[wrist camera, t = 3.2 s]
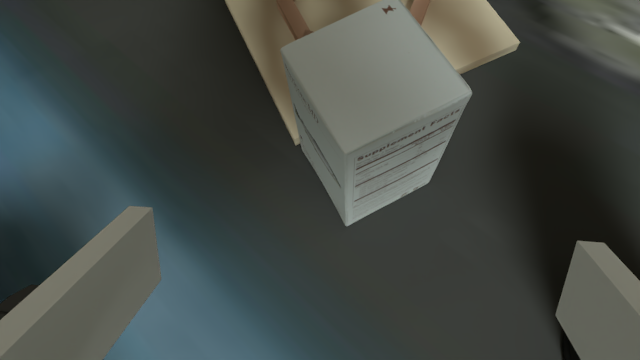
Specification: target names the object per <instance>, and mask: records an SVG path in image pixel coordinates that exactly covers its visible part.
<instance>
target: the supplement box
mask: <svg viewBox="0 0 640 360" xmlns="http://www.w3.org/2000/svg"><path fill="white" fill-rule="evenodd" d="M280 51H281V55H282V59H283V64H284V68H285V73H286V77H287V82H288V86H289V91H290V96H291V101H292V106H293V111H294V115H295V120H296V124H297V129H298V134H299V139H300V143H301V148H302V151H303V152H304V154H305V156H306V157H307V159H308V160H309V162H310V163H311V165H312V166H313V168H314V170H315V171H316V173H317V175H318V177H319V178H320V180H321V182H322V183H323V185H324V187H325V189H326V191H327V192H328V194H329V196H330V198H331V199H332V201H333V203H334V205H335V207H336V209H337V210H338V212H339V214H340V216H341V218H342V220H343V222H344V224H345V226H349V225H350V224H352V223H354V222H356V221H358V220H360V219H361V218H363V217H365V216H367V215H369V214H371V213H373V212H374V211H376V210H378V209H380V208H382V207H384V206H386V205H388V204H390V203H392V202H393V201H395V200H397V199H399V198H401V197H403V196H405V195H407V194H409V193H410V192H412V191H414V190H416V189H418V188H420V187H422V186H424V185H425V184H427V183H429V181H430V179H431V177H432V175H433V173H434V171H435V169H436V167H437V165H438V163H439V161H440V159H441V157H442V154H443V152H444V150H445V148H446V146H447V144H448V142H449V140H450V138H451V135H452V133H453V131H454V129H455V127H456V125H457V123H458V121H459V119H460V116H461V114H462V112H463V110H464V108H465V106H466V104H467V102H468V101H469V99H470V97H471V95H472V91H471V88H470V87H469V86H468V84H467V83H466V82H465V81H464V79H463V78H462V77H461V76H460V74H459V73H458V72H457V71H456V70H455V68H454V67H453V66H452V65H451V63H450V62H449V61H448V59H447V58H446V57H445V56H444V54H443V53H442V52H441V51H440V49H439V48H438V47H437V46H436V44H435V43H434V42H433V40H432V39H431V38H430V36H429V35H428V34H427V33H426V32H425V31H424V29H423V28H422V27H421V26H420V24H419V23H418V22H417V21H416V19H415V18H414V17H413V16H412V14H411V13H410V12H409V10H408V9H407V8H406V7H405V5H404V4H403V3H402V2H401V0H382V1H379V2H377V3H375V4H373V5H371V6H368V7H366V8H364V9H362V10H360V11H358V12H356V13H354V14H351V15H349V16H347V17H345V18H343V19H341V20H339V21H336V22H334V23H332V24H330V25H328V26H325V27H323V28H321V29H319V30H317V31H315V32H313V33H311V34H309V35H306V36H304V37H302V38H300V39H297V40H295V41H293V42H291V43H289V44H287V45H286V46H284V47H282V48H281V50H280Z"/></svg>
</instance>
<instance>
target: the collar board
mask: <svg viewBox="0 0 640 360" xmlns="http://www.w3.org/2000/svg"><path fill="white" fill-rule="evenodd" d="M379 1H382V0H225V2H226V5H227V7H228V9H229V11H230V13H231V15H232V17H233V19H234V21H235V23H236V25H237V27H238V29H239V31H240V33H241V35H242V37H243V39H244V41H245V43H246V45H247V47H248V49H249V52H250V54H251V56H252V58H253V60H254V62H255V64H256V66H257V68H258V70H259V72H260V74H261V76H262V78H263V80H264V82H265V84H266V86H267V88H268V90H269V92H270V94H271V97H272V99H273V101H274V103H275V105H276V107H277V109H278V111H279V113H280V115H281V117H282V119H283V121H284V123H285V125H286V127H287V129H288V131H289V133H290V135H291V137H292V139H293V141H294V144H295V146H296V145H298V144H300V139H299V134H298V129H297V124H296V120H295V115H294V111H293V106H292V101H291V96H290V91H289V86H288V82H287V77H286V73H285V68H284V64H283V59H282V55H281V51H280V50H281V48H282V47H284V46H286V45H287V44H289V43H291V42H293V41H295V40H297V39H300V38H302V37H304V36H306V35H309V34H311V33H313V32H315V31H317V30H319V29H321V28H323V27H325V26H328V25H330V24H332V23H334V22H336V21H339V20H341V19H343V18H345V17H347V16H349V15H351V14H354V13H356V12H358V11H360V10H362V9H364V8H366V7H368V6H371V5H373V4H375V3H377V2H379ZM401 2H402V3H403V4H404V5H405V7H406V8H407V9H408V10H409V12H410V13H411V14H412V16H413V17H414V18H415V19H416V21H417V22H418V23H419V24H420V26H421V27H422V28H423V29H424V31H425V32H426V33H427V34H428V35H429V36H430V38H431V39H432V40H433V42H434V43H435V44H436V46H437V47H438V48H439V49H440V51H441V52H442V53H443V54H444V56H445V57H446V58H447V59H448V61H449V62H450V63H451V65H452V66H453V67H454V68H455V70H456V71H457V72H458V73H459V74H462V73H464V72H467V71H469V70H471V69H473V68H476V67H478V66H480V65H483V64H485V63H487V62H490V61H492V60H494V59H497V58H499V57H501V56H503V55H506V54H508V53H510V52H513V51H515V50H516V49H517V47H518V45H519V43H520V42H519V40H518V39H517V38H516V37H515V35H514V34H513V33H512V32H511V30H510V29H509V28H508V27H507V25H506V24H505V23H504V22H503V20H502V19H501V18H500V17H499V15H498V14H497V13H496V12H495V10H494V9H493V8H492V7H491V5H490V4H489V3H488V2H487V0H401Z"/></svg>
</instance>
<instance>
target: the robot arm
mask: <svg viewBox="0 0 640 360" xmlns="http://www.w3.org/2000/svg"><path fill="white" fill-rule="evenodd" d="M160 280H161V272H160V264H159V257H158V249H157V241H156V233H155V225H154V217H153V210H152V208H149V207H136V206H129V207H128V208H127V209H125V210H124V211H123V212H122V213H121V214H120V215H119V216H118V217H116V218H115V219H114V220H113V221H112V222H111V223H110V224H108V225H107V226H106V227H105V228H104V229H103V230H102V231H101V232H99V233H98V234H97V235H96V236H95V237H94V238H93V239H91V240H90V241H89V242H88V243H87V244H86V245H85V246H84V247H82V248H81V249H80V250H79V251H78V252H77V253H76V254H74V255H73V256H72V257H71V258H70V259H69V260H68V261H67V262H65V263H64V264H63V265H62V266H61V267H60V268H59V269H58V270H56V271H55V272H54V273H53V274H52V275H51V276H50V277H48V278H47V279H46V280H45V281H44V282H43V283H42V284H41V285H30V286H28V287H26V288H24V289H22V290H20V291H18V292H17V293H15V294H13V295H11V296H9V297H8V298H7V299H6V300H4V301H3V302H2V303H1V304H0V360H103V358H104V357H105V356H106V354H107V353H108V352H109V350H110V349H111V347H112V346H113V345H114V343H115V342H116V341H117V339H118V338H119V336H120V335H121V334H122V332H123V331H124V330H125V328H126V327H127V326H128V324H129V323H130V321H131V320H132V319H133V317H134V316H135V315H136V313H137V312H138V310H139V309H140V308H141V306H142V305H143V304H144V302H145V301H146V300H147V298H148V297H149V295H150V294H151V293H152V291H153V290H154V289H155V287H156V286H157V285H158V283H159V282H160ZM555 316H556V317H557V319H558V321H559V323H560V324H561V326H562V328H563V330H564V331H565V333H566V335H567V337H568V338H569V340H570V342H571V344H572V345H573V347H574V349H575V351H576V352H577V354H578V356H579V357H580V359H581V360H640V281H639V280H638V278H637V277H636V276H635V275H634V274H633V273H632V272H631V271H630V270H629V269H628V268H627V267H626V266H625V265H624V263H623V262H622V261H621V260H620V259H619V258H618V257H617V256H616V255H615V254H614V253H613V252H612V251H611V250H610V249H609V247H608V246H607V245H606V244H605V243H601V242H588V241H577V243H576V246H575V250H574V253H573V256H572V260H571V263H570V267H569V270H568V273H567V277H566V280H565V284H564V287H563V290H562V294H561V297H560V301H559V304H558V307H557V311H556V314H555Z"/></svg>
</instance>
